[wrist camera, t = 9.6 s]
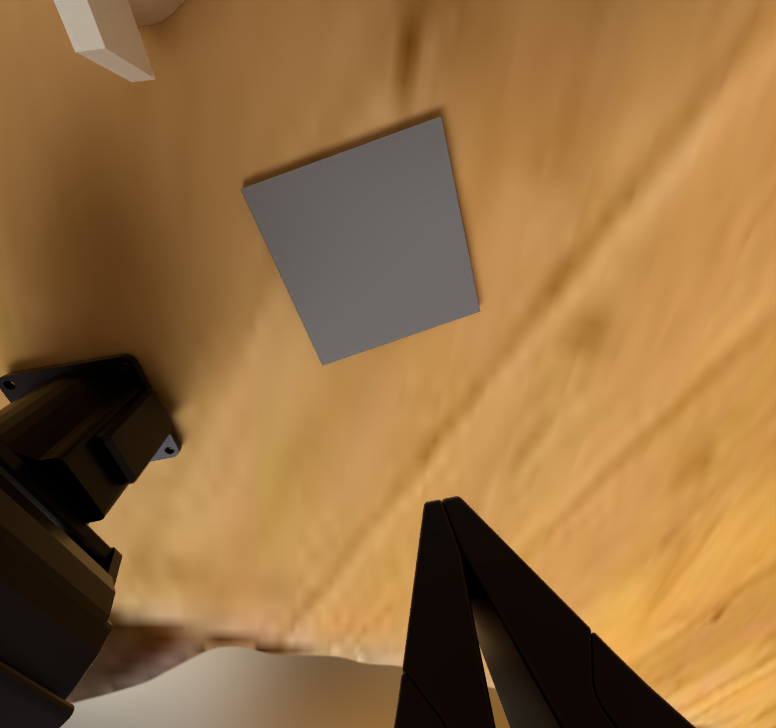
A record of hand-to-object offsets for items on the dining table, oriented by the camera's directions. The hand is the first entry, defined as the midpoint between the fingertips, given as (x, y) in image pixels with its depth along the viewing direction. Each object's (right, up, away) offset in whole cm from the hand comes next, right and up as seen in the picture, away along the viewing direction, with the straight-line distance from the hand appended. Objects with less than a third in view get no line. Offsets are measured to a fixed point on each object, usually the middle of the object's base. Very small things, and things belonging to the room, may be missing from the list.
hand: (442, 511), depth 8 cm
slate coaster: (-2, +9, +9) cm, 13 cm away
